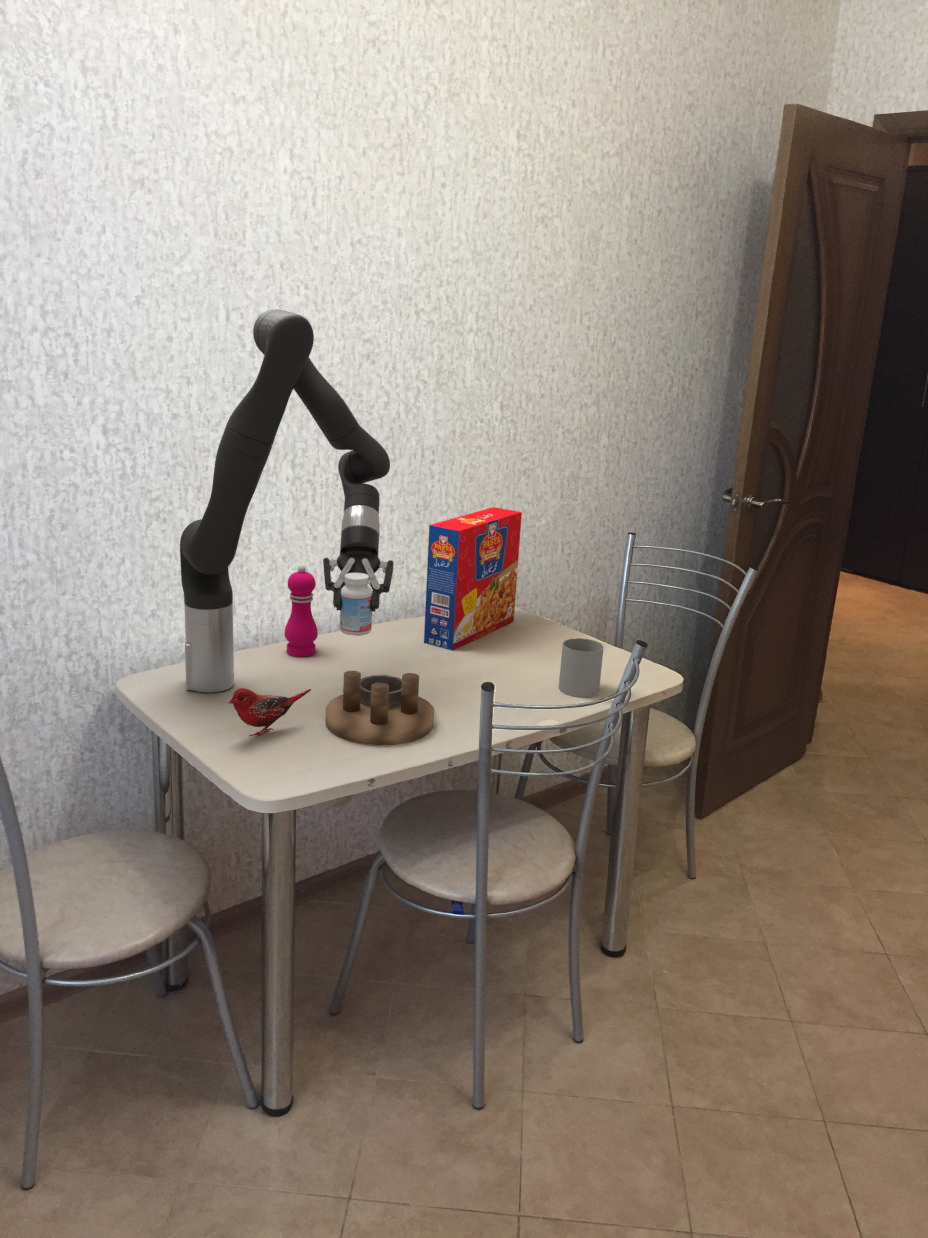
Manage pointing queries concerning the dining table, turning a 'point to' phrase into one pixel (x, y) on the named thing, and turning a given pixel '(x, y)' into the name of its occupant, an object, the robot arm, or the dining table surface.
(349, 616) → the pill bottle
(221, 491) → the robot arm
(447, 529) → the pasta box
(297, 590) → the pepper mill
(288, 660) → the dining table surface
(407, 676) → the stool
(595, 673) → the cup
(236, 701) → the decorative bird figurine
